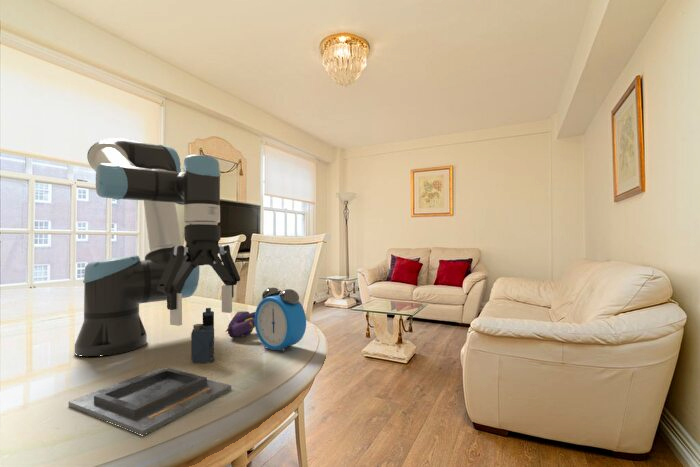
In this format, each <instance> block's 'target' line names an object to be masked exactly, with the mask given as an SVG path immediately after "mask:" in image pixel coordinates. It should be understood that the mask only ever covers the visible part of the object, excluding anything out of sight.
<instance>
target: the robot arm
mask: <svg viewBox="0 0 700 467" xmlns="http://www.w3.org/2000/svg"><path fill="white" fill-rule="evenodd" d="M86 157H87V158H86V159H87V162H88V164H89V165H90V167H91V169H93V171H95V189H96V194H97V196H98V197H100V198H103V199H113V200H115V201H117V200H129V201H143V206H144V214H145V215H144V216H145V223H146V229H147V238H148V239H147V240H148V246H149V251H148V252H147V253H146V254H145V256H144V260H141V258H140V256H139V255H127V256H117V257H110V258H109V257H108V258H105V259H104V258H103V259H99V260H93V261H91V262H88V263H87V264H86V265H85V267H84V276H83V277H84V278H83V281H82V282H83V284H84V288H83V291H84V293H83V294H84V296H83V323H82V325H81V327H80V330H79V333H78V335H77V338H76V340H75V343H74V354H75V353H76V354H77V355H82V356H99V357H101V356H100V355H108V356H112V355H111V354H114V355H118V354H117V353H119V354H123V352H124V353H126V352H127V353H128V352H130V351H134V350H136V349H139V348H141V347H143V346H145V345H146V344H147V341H148V340H147V339H148V336H147V331H146V329H145V327H144V324H143V321H142V319H141V315H140V304H147V303H154V302H155V303H156V302H164V301H166V308H167V310H169V325H170V326H177V327H179V326H183V299H187V298H191V297H192V296H193V295H194V294H195V293H196V291H197V288H198V285H199V280H200V266H209V267H211V268H212V269H213V271H214V272H215V274H216V275H217V276H218V277H219V278H220V280H221V281H222V282H223V285H222V284H221V313H227V314H230V313H231V314H232V313H233V298H234V292H235V291H234V286H236V285H237V284H238V282H240V281H241V276H240V275H239V272H238V269H237V266H236V265H235V262H234V259H233V257H232V254H231V247H230V245H229V244H221V245H219V242H220V241H221V226H220V225H218V224H220V222H221V191H220V190H221V170H220V169H221V168H220V163H219V160H218V159H217V158H215V157H213V156H211V155H203V154H190V155H187V156H186V157H185V158H184V160H183V167H182V168H181V159H180V156H179V154H178V152H177V150H175V149H174V148H173V147H171V146H166V145H163V144H152V143H147V142H141V141H137V140H136V141H135V140H129V139H125V138H107V139H103V140H100V141H97V142H96V143H94V144H92V145H91V146H90V147H89V149H88V151H87V156H86ZM182 170H183V172H182ZM176 204H177V205H179V206H184V207H183V211H184V212H183V214H184V215H183V222H184V223H186V225H185V226H184V232H183V234H184V241H185V243H186V244H185V246H184V245H183V242H182V237H181V236H182V235H181V231H180V225H179V217H178V212H177V207H176ZM77 355H76V356H77Z"/></svg>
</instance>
